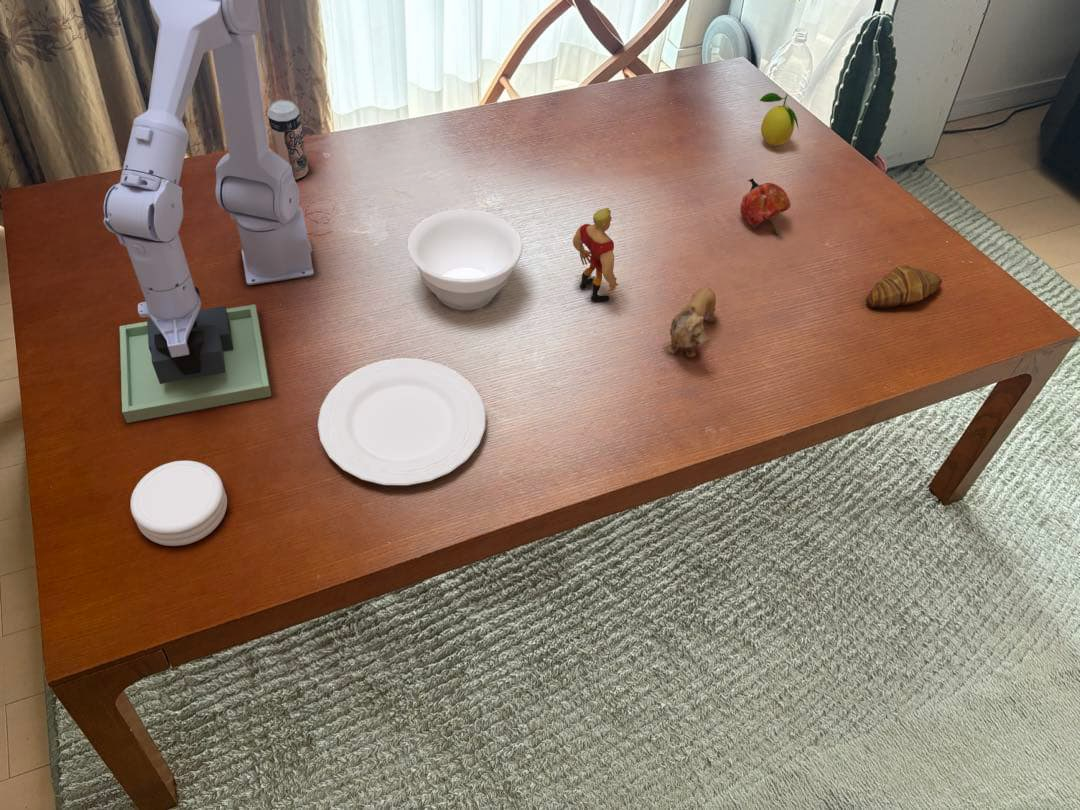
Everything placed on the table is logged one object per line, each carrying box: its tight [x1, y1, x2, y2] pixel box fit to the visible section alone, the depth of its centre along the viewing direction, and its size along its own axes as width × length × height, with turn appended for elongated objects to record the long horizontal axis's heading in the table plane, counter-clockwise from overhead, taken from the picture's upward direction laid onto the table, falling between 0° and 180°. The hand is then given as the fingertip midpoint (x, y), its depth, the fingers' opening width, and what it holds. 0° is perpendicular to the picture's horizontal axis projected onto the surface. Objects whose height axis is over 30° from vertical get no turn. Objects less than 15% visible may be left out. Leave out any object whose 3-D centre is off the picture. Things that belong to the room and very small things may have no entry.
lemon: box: [759, 92, 800, 147], centre depth 160 cm, size 7×6×10 cm
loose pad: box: [150, 324, 226, 384], centre depth 117 cm, size 8×5×4 cm, turn 107°
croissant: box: [865, 265, 943, 309], centre depth 137 cm, size 14×7×5 cm, turn 115°
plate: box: [317, 357, 487, 487], centre depth 116 cm, size 21×21×2 cm
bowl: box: [406, 208, 524, 311], centre depth 131 cm, size 16×16×8 cm
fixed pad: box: [146, 305, 233, 352], centre depth 122 cm, size 10×6×3 cm, turn 108°
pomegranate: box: [740, 178, 791, 237], centre depth 146 cm, size 7×7×10 cm
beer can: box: [267, 99, 309, 180], centre depth 146 cm, size 5×5×12 cm
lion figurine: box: [667, 287, 717, 358], centre depth 127 cm, size 15×5×9 cm, turn 162°
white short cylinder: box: [130, 460, 228, 547], centre depth 105 cm, size 10×10×4 cm
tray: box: [119, 304, 272, 424], centre depth 121 cm, size 18×16×2 cm
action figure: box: [572, 207, 619, 303], centre depth 130 cm, size 10×4×15 cm, turn 31°
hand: (190, 356), depth 117 cm, fingers closed on loose pad, 5 cm apart
